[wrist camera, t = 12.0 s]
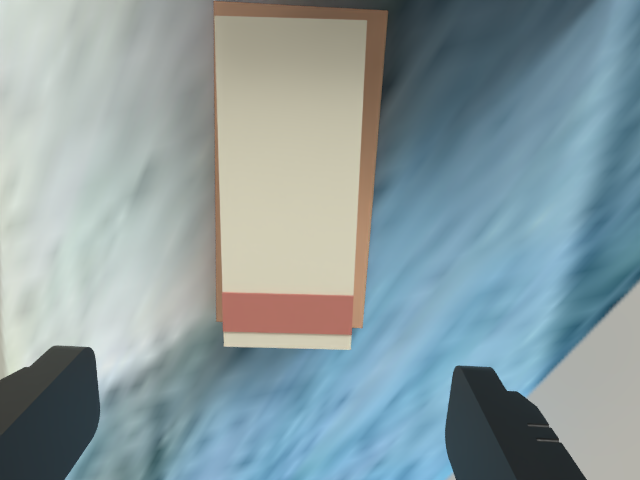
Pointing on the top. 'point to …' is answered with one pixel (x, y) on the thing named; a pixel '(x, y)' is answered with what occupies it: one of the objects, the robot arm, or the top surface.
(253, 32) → the cream box
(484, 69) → the top surface
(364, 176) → the tile
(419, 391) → the top surface
